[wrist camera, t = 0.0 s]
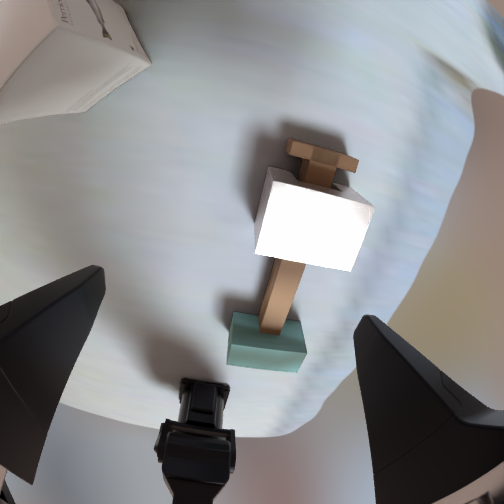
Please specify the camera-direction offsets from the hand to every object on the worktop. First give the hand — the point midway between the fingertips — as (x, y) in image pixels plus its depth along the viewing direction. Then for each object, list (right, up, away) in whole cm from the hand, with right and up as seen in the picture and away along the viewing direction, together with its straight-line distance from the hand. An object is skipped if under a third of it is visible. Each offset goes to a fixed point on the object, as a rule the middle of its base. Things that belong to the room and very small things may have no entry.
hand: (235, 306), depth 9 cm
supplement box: (-12, +18, +7) cm, 23 cm away
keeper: (+5, +6, +14) cm, 16 cm away
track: (+4, +1, +16) cm, 16 cm away
